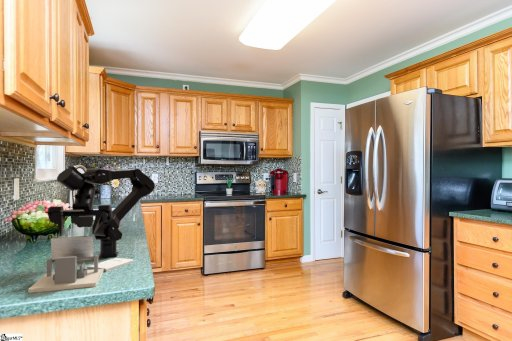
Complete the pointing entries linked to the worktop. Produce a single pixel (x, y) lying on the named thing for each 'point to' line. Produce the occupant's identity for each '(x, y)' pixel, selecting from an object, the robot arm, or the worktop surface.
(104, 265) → the external hard drive
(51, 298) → the worktop surface
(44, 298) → the worktop surface
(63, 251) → the brushed grey panel
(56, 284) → the board
